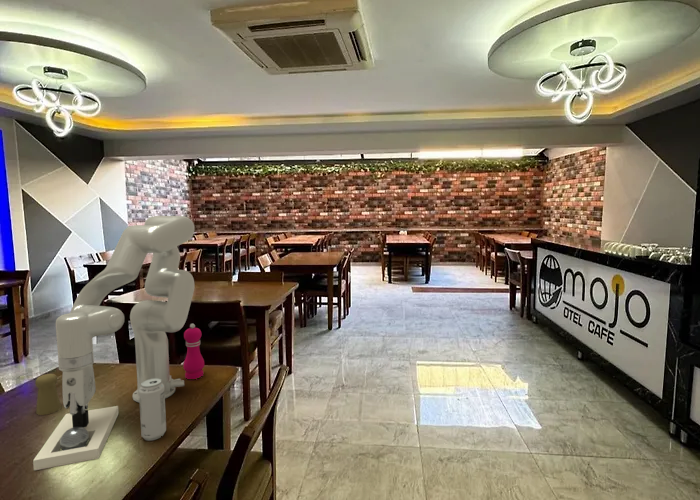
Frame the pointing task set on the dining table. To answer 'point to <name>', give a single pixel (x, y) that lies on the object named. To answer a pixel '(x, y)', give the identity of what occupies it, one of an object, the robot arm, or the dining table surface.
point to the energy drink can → (152, 409)
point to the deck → (98, 435)
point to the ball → (74, 438)
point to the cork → (47, 395)
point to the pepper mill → (193, 353)
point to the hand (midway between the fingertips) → (81, 426)
